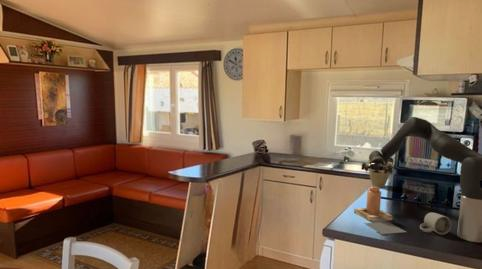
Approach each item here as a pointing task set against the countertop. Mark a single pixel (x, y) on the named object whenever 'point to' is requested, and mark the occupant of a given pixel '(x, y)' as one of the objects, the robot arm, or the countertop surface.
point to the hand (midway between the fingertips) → (375, 170)
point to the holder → (363, 214)
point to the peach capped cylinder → (373, 200)
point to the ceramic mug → (436, 223)
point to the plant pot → (379, 177)
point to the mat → (385, 228)
